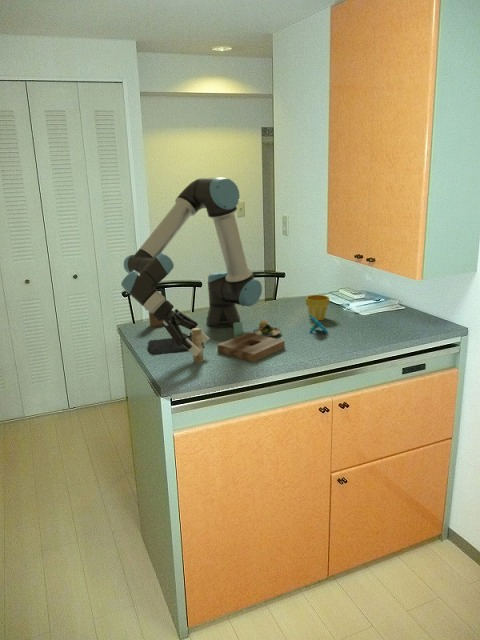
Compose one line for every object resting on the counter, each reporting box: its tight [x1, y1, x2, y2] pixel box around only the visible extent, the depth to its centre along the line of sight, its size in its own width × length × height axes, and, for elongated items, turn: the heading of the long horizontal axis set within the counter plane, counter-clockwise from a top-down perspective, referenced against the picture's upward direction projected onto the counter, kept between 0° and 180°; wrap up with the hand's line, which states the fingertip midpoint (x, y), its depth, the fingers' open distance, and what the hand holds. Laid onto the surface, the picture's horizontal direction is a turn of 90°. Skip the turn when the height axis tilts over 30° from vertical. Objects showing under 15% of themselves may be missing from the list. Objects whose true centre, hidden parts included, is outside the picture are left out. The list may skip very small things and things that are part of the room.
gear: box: [309, 315, 329, 334], centre depth 212 cm, size 11×6×10 cm
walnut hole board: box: [216, 331, 286, 363], centre depth 195 cm, size 18×18×3 cm
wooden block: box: [148, 311, 164, 328], centre depth 230 cm, size 7×3×15 cm, turn 106°
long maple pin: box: [190, 327, 204, 364], centre depth 185 cm, size 4×4×12 cm
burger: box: [252, 319, 282, 338], centre depth 211 cm, size 12×12×8 cm
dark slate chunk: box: [147, 331, 206, 356], centre depth 203 cm, size 15×22×5 cm
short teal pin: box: [232, 321, 244, 338], centre depth 206 cm, size 4×4×7 cm
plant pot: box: [305, 294, 330, 321], centre depth 230 cm, size 10×10×10 cm
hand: (202, 347), depth 184 cm, fingers open, 13 cm apart
